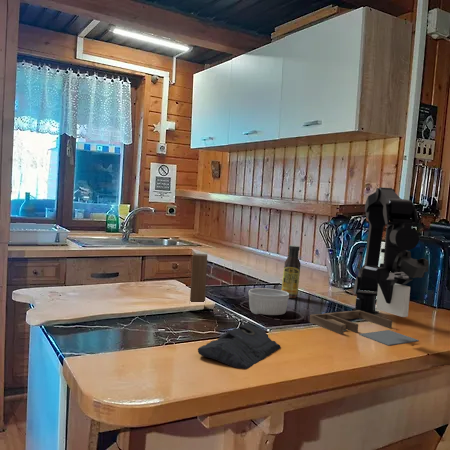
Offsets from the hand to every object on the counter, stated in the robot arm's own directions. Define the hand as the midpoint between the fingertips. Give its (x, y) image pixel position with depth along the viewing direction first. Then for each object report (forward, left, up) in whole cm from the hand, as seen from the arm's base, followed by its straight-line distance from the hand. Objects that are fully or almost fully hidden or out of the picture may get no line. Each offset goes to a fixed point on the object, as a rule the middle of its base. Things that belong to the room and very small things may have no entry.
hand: (391, 303), depth 127 cm
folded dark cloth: (+44, -7, -11) cm, 46 cm away
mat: (0, 0, -10) cm, 10 cm away
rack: (+1, -13, -10) cm, 17 cm away
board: (0, 0, -3) cm, 3 cm away
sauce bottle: (-8, -54, -11) cm, 56 cm away
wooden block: (+35, -47, -11) cm, 59 cm away
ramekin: (+15, -36, -11) cm, 40 cm away
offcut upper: (+8, -13, -10) cm, 18 cm away
